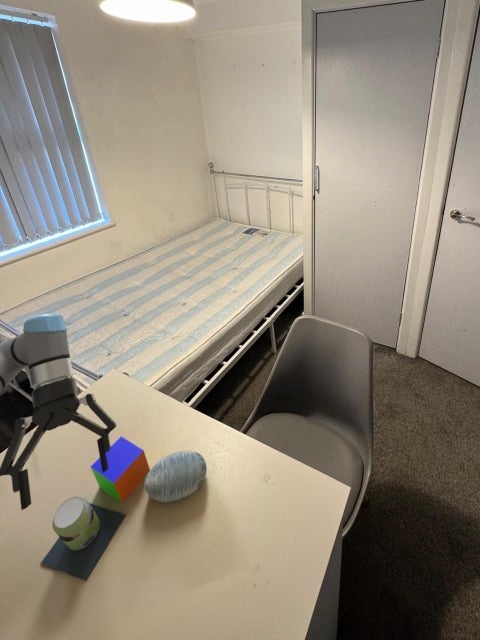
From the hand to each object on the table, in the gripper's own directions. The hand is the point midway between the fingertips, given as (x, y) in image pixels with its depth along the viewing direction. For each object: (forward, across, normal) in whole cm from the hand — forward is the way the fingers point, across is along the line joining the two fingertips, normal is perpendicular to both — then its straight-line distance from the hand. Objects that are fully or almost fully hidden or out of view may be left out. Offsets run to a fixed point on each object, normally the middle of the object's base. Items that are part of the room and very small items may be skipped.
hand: (67, 488), depth 66 cm
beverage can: (+11, 0, -6) cm, 13 cm away
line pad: (+12, 0, -6) cm, 13 cm away
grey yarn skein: (+11, -20, -7) cm, 24 cm away
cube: (+5, -8, -13) cm, 16 cm away
